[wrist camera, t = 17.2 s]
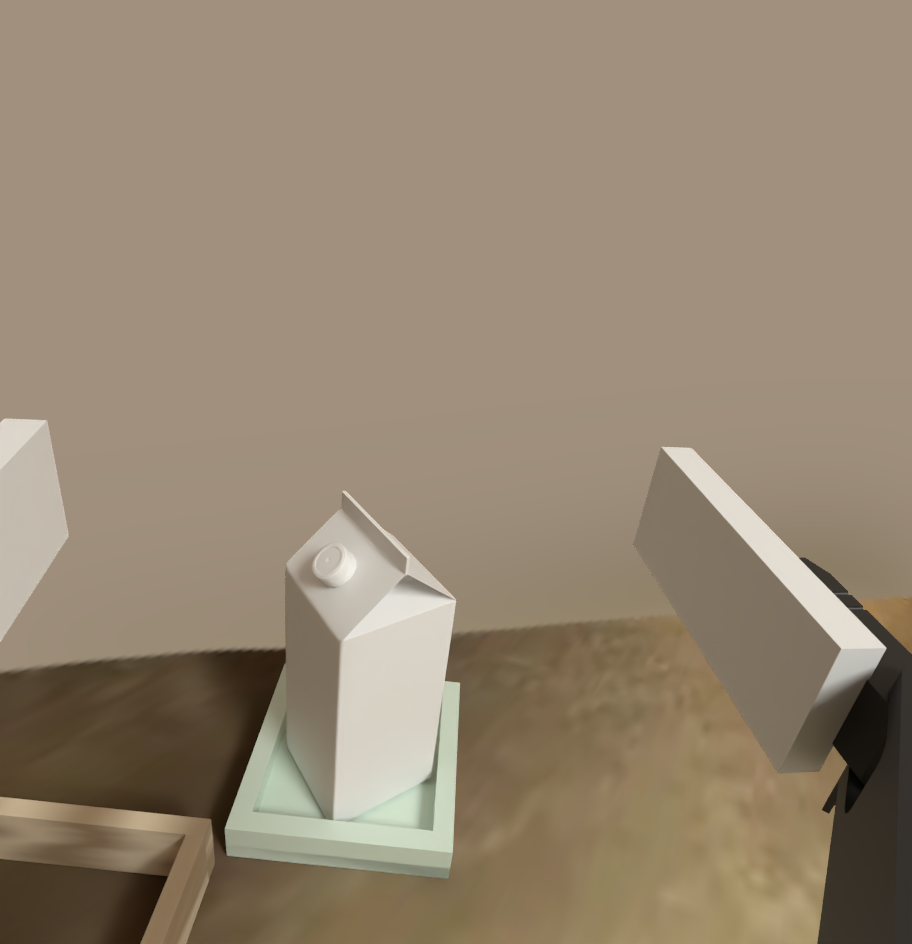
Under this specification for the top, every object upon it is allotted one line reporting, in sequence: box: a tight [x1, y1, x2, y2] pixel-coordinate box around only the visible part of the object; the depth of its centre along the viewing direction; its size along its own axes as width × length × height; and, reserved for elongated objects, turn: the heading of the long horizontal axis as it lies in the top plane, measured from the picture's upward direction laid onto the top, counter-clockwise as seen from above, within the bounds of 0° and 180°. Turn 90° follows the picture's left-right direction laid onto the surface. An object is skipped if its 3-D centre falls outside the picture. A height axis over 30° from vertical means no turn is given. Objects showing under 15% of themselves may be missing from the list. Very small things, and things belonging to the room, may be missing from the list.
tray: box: [225, 664, 460, 879], centre depth 45 cm, size 13×13×2 cm
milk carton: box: [285, 491, 456, 822], centre depth 40 cm, size 7×7×19 cm
